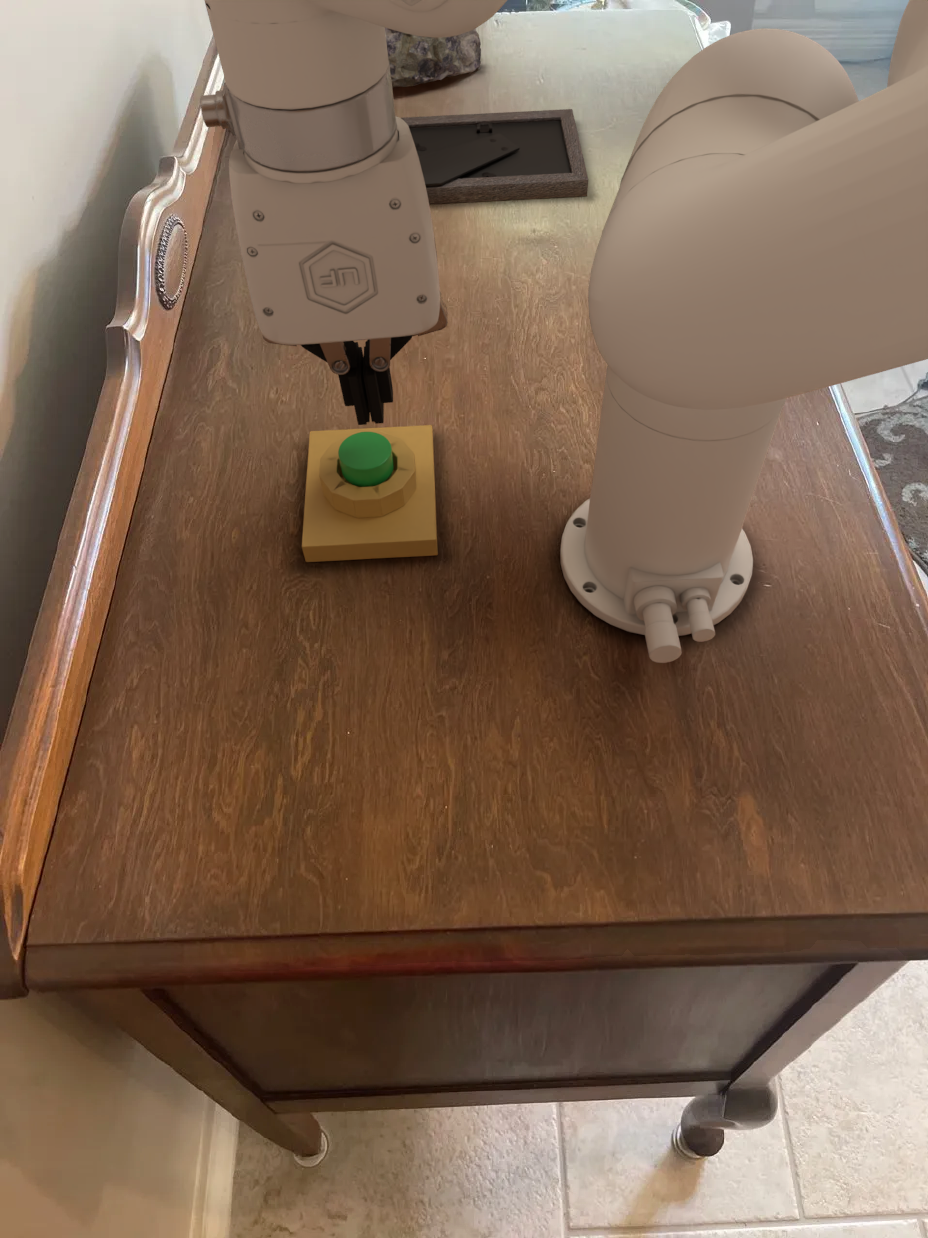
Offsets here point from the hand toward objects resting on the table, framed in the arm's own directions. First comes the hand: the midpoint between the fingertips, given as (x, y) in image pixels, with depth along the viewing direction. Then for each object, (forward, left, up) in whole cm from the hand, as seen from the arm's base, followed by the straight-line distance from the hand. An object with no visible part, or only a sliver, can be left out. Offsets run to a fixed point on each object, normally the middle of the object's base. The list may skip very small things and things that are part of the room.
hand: (371, 408), depth 58 cm
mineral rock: (+63, -4, -9) cm, 64 cm away
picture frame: (+44, -10, -9) cm, 46 cm away
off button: (0, +1, -6) cm, 6 cm away
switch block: (0, +1, -9) cm, 9 cm away
